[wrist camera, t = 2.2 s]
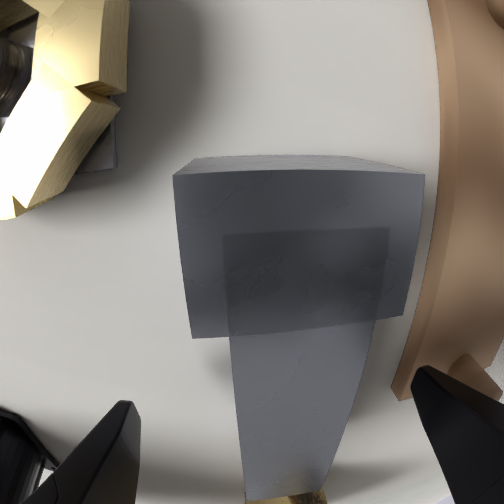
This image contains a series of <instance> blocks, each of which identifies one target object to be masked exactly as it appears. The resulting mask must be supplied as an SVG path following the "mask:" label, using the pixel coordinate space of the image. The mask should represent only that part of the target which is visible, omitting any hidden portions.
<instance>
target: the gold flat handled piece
mask: <svg viewBox="0 0 504 504" xmlns="http://www.w3.org/2000/svg"><path fill="white" fill-rule="evenodd" d="M38 12H39V17H38V23H37V29H36V36H35V44H34V53H33V64H32V79H31V82H30V83H29V85H28V86H27V88H26V90H25V91H24V93H23V94H22V96H21V98H20V99H19V101H18V103H17V105H16V106H15V108H14V110H13V112H12V113H11V115H10V117H9V119H8V121H7V123H6V125H5V127H4V128H3V130H2V132H1V134H0V220H5V219H11V218H16V217H18V216H20V215H22V214H24V213H26V212H28V211H30V210H32V209H34V208H36V207H38V206H40V205H42V204H44V203H46V202H48V201H51V200H53V196H54V195H57V194H59V193H61V192H63V191H64V190H65V188H66V186H67V185H68V183H69V181H70V180H71V178H72V177H73V175H74V173H75V172H76V170H77V169H78V167H79V166H80V164H81V162H82V161H83V159H84V158H85V156H86V155H87V154H88V152H89V151H90V149H91V148H92V146H93V145H94V143H95V142H96V141H97V139H98V138H99V136H100V135H101V134H102V132H103V131H104V130H105V128H106V127H107V126H108V124H109V123H110V122H111V120H112V119H113V118H114V117H115V115H116V114H117V113H118V112H119V110H120V109H121V108H120V107H119V106H117V105H116V104H115V103H114V102H112V101H111V100H110V99H109V98H108V97H106V96H111V95H116V94H121V93H127V46H128V27H129V14H130V1H129V0H0V31H2V30H4V29H6V28H7V27H9V26H11V25H13V24H15V23H17V22H19V21H21V20H23V19H25V18H27V17H29V16H31V15H33V14H36V13H38Z"/></svg>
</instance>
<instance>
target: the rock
mask: <svg viewBox="0 0 504 504" xmlns="http://www.w3.org/2000/svg"><path fill="white" fill-rule="evenodd" d="M245 498H246V501H245V504H327V501H326V497H325V494H324V490H323V488H322V487H321V489H320V490H319V491H314V492H309V493H304V494H298V495H292V496H285V497H278V498H270V499H261V500H251V501H247V497H246V492H245Z"/></svg>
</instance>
